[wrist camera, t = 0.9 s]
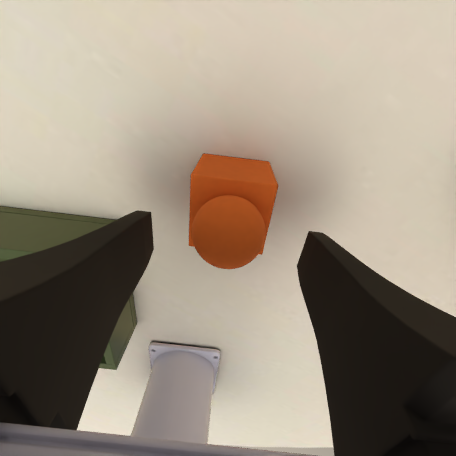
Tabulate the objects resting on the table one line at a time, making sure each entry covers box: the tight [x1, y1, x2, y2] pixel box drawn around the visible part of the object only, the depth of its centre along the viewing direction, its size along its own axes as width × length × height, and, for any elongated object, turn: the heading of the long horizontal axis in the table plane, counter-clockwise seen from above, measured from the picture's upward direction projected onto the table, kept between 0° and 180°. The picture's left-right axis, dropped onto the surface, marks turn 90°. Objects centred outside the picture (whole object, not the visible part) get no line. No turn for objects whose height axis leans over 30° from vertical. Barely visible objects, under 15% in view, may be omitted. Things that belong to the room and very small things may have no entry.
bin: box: [0, 206, 137, 370], centre depth 19 cm, size 13×16×5 cm
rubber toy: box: [189, 154, 278, 269], centre depth 13 cm, size 4×4×8 cm
